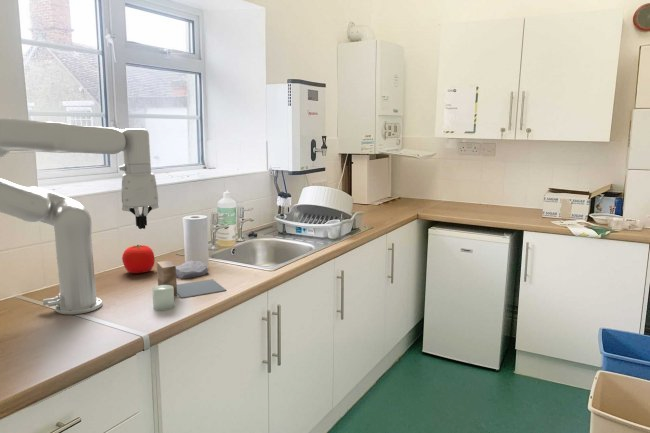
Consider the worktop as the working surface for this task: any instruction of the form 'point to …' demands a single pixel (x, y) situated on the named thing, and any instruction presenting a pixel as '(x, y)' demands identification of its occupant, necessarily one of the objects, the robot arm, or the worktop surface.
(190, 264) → the stone block
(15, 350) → the worktop surface
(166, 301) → the rounded cube
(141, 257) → the tomato
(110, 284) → the worktop surface
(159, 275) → the brown wooden block
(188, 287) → the mat
